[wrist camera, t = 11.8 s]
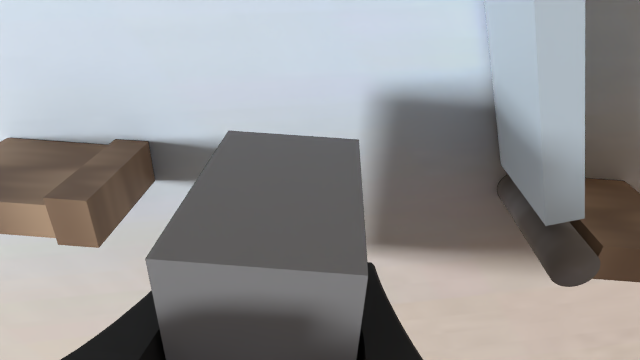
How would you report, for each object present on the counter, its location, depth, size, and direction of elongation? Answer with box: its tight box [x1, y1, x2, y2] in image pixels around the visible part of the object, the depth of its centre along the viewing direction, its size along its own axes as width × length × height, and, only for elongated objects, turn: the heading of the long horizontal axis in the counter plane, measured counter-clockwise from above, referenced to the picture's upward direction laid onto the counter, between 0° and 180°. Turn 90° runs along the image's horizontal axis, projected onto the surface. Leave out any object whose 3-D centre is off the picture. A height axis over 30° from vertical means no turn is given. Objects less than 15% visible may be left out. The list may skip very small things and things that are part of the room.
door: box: [484, 0, 585, 226], centre depth 13 cm, size 12×2×4 cm, turn 17°
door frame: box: [0, 138, 640, 287], centre depth 16 cm, size 28×2×5 cm, turn 87°
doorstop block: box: [145, 131, 368, 360], centre depth 12 cm, size 4×8×6 cm, turn 177°
